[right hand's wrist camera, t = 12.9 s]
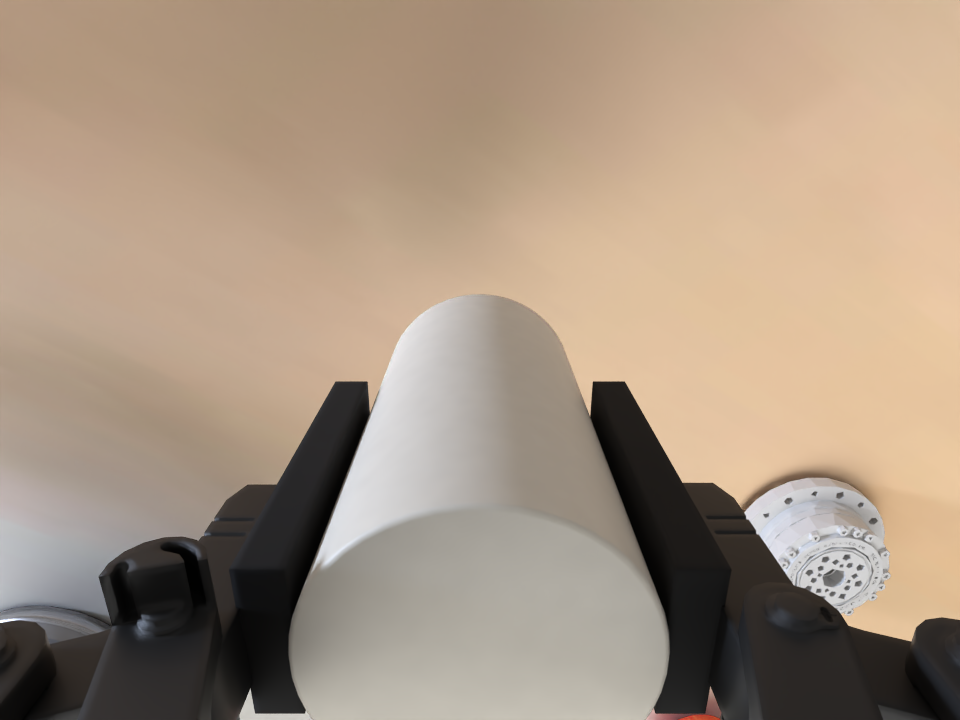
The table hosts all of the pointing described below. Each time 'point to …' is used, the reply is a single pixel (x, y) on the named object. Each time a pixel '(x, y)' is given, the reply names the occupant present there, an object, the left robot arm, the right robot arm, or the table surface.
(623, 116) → the table surface
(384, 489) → the canister
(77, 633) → the left robot arm
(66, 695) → the right robot arm
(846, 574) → the mechanical component
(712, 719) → the apple
